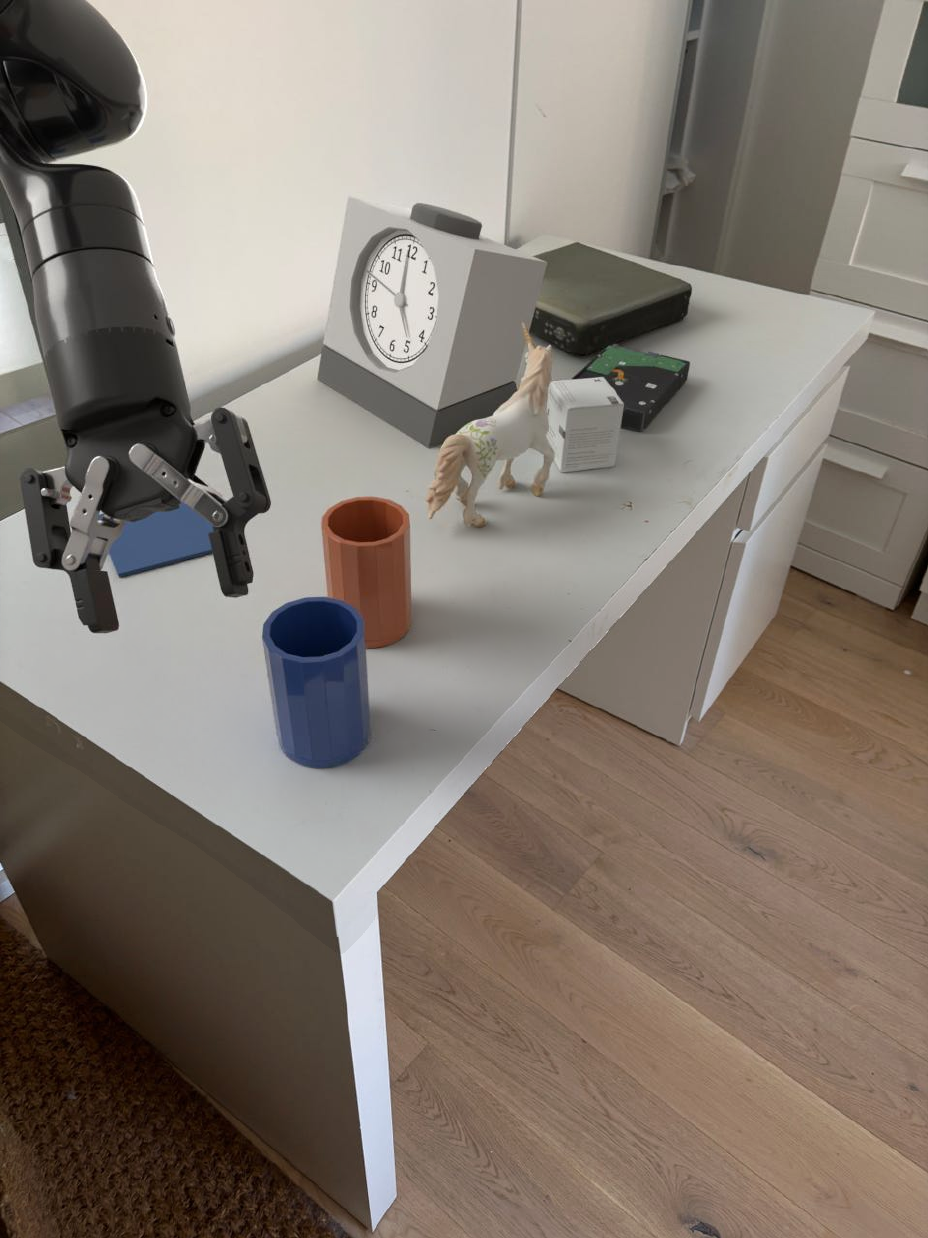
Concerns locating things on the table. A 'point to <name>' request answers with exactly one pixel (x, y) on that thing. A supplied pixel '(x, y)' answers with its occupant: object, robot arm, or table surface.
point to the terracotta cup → (370, 564)
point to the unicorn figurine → (498, 441)
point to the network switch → (602, 299)
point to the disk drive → (638, 381)
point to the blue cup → (318, 680)
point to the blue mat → (160, 540)
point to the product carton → (583, 423)
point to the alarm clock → (426, 317)
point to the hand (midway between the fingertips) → (170, 614)
